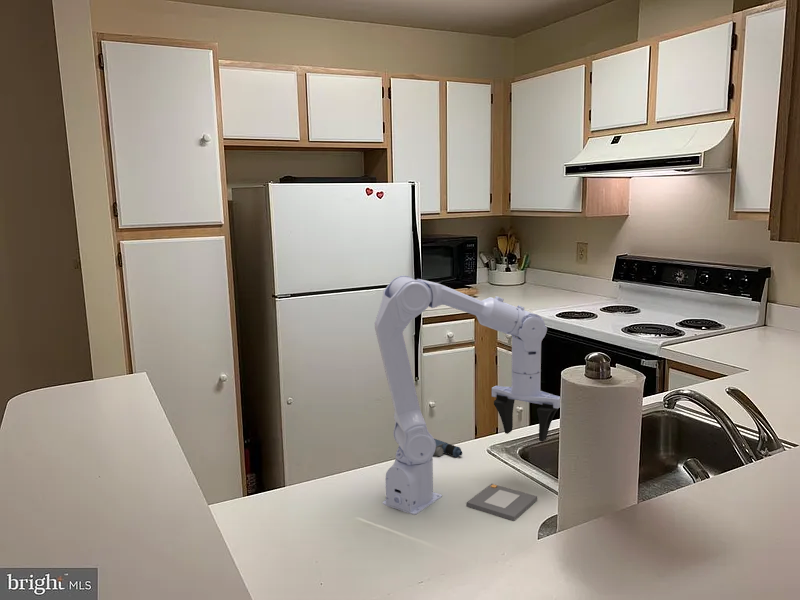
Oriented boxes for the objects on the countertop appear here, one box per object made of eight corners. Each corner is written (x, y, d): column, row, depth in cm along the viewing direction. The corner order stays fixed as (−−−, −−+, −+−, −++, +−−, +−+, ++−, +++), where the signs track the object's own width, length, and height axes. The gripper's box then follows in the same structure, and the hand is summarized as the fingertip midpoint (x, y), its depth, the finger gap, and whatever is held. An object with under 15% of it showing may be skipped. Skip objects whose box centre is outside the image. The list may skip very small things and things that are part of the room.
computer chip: (513, 520, 113) (513, 515, 113) (466, 506, 119) (466, 501, 119) (537, 500, 121) (537, 495, 121) (491, 487, 127) (491, 482, 127)
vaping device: (426, 443, 151) (464, 457, 143) (411, 449, 147) (449, 463, 139) (426, 433, 151) (464, 446, 142) (411, 439, 147) (449, 452, 139)
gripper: (568, 371, 123) (567, 437, 125) (502, 362, 132) (502, 423, 134) (554, 379, 118) (553, 448, 119) (486, 369, 126) (486, 433, 128)
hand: (525, 435), depth 126 cm, fingers open, 7 cm apart
